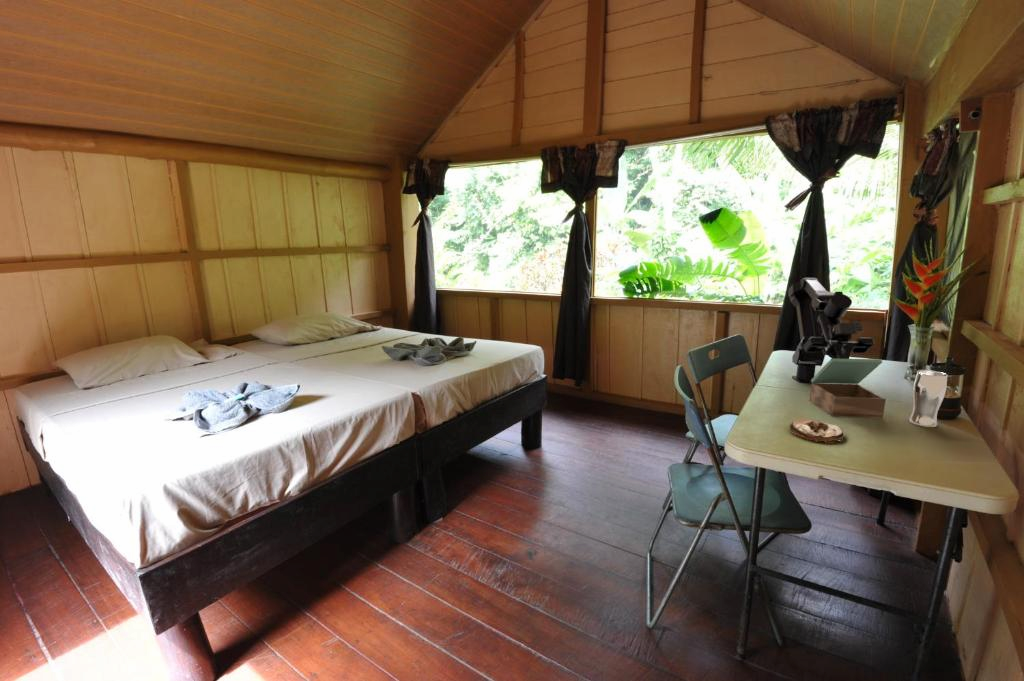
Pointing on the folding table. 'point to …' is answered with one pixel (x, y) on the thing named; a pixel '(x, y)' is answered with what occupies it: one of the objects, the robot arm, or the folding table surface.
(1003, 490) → the folding table surface
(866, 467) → the folding table surface
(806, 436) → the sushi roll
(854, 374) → the lid
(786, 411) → the folding table surface
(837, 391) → the walnut box
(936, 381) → the beer glass
